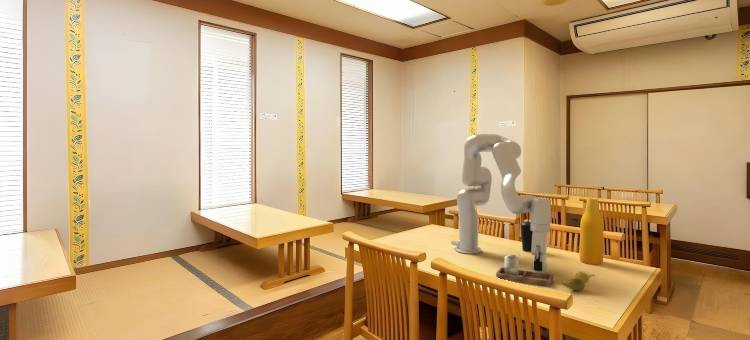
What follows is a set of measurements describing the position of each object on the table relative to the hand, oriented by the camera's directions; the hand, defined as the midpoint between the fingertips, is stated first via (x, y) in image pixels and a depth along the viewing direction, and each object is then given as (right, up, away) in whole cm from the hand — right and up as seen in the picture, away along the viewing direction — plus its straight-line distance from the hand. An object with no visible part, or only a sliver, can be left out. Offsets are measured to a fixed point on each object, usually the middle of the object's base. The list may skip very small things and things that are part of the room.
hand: (539, 267), depth 163 cm
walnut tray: (-10, -3, -8) cm, 13 cm away
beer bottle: (+28, -1, +12) cm, 31 cm away
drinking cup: (+8, 0, +32) cm, 33 cm away
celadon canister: (0, -2, 0) cm, 2 cm away
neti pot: (+5, -4, -20) cm, 21 cm away
